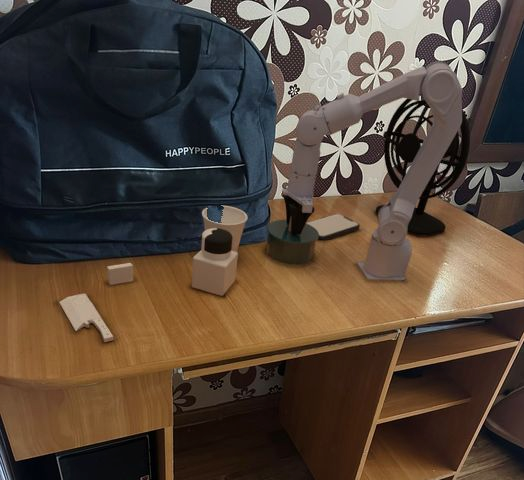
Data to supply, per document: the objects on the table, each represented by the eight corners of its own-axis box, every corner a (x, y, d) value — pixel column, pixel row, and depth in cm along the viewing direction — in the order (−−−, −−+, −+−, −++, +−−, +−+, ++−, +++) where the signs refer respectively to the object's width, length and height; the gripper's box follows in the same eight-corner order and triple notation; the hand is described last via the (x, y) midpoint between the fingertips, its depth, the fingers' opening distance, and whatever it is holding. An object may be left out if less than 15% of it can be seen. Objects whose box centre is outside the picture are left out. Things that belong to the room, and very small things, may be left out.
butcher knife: (84, 347, 85) (83, 342, 85) (59, 302, 95) (58, 297, 94) (114, 340, 88) (113, 335, 87) (86, 297, 97) (86, 292, 96)
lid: (310, 224, 125) (313, 208, 122) (324, 247, 115) (328, 230, 113) (262, 222, 122) (264, 205, 119) (272, 246, 113) (275, 228, 110)
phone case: (321, 243, 130) (360, 230, 139) (322, 237, 129) (362, 224, 138) (297, 229, 135) (337, 217, 144) (298, 224, 134) (338, 212, 143)
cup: (236, 274, 111) (241, 228, 105) (193, 265, 112) (195, 218, 106) (246, 254, 119) (252, 210, 113) (206, 246, 120) (209, 201, 113)
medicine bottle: (235, 281, 109) (240, 230, 102) (222, 297, 103) (227, 243, 96) (205, 273, 110) (208, 221, 103) (191, 287, 105) (193, 234, 97)
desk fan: (353, 207, 152) (384, 78, 130) (393, 200, 161) (429, 78, 139) (421, 246, 135) (469, 106, 114) (461, 236, 144) (513, 104, 123)
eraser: (108, 282, 102) (107, 266, 100) (131, 278, 105) (130, 262, 103) (110, 285, 102) (109, 269, 99) (133, 281, 104) (132, 265, 102)
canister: (305, 244, 127) (309, 223, 124) (317, 266, 119) (322, 244, 115) (262, 243, 125) (265, 221, 121) (271, 266, 116) (275, 242, 113)
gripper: (278, 159, 114) (270, 215, 122) (293, 182, 103) (284, 243, 111) (308, 161, 116) (298, 217, 124) (326, 184, 105) (314, 244, 113)
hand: (293, 229), depth 118 cm, fingers open, 4 cm apart
